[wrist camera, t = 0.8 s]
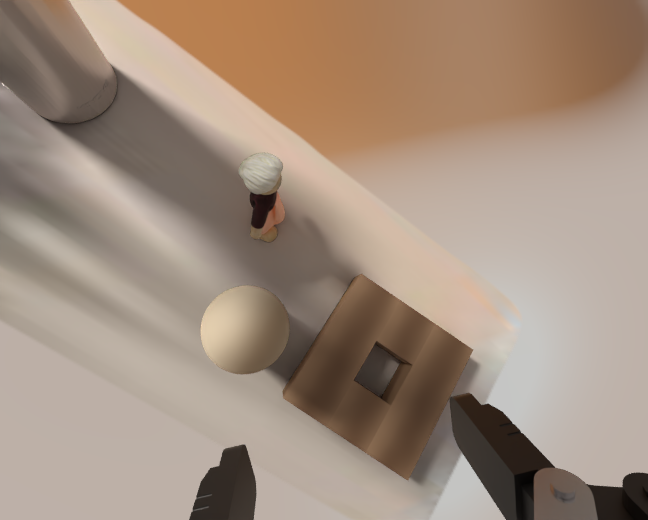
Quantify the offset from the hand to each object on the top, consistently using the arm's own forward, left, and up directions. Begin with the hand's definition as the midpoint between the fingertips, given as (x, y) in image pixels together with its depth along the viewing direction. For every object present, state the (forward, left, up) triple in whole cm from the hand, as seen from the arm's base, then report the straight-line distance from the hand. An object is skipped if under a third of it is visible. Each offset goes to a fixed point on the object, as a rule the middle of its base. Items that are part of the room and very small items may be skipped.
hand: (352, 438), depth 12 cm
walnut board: (+7, +4, -22) cm, 23 cm away
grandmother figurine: (-12, +11, -22) cm, 27 cm away
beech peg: (-6, +1, -22) cm, 23 cm away
